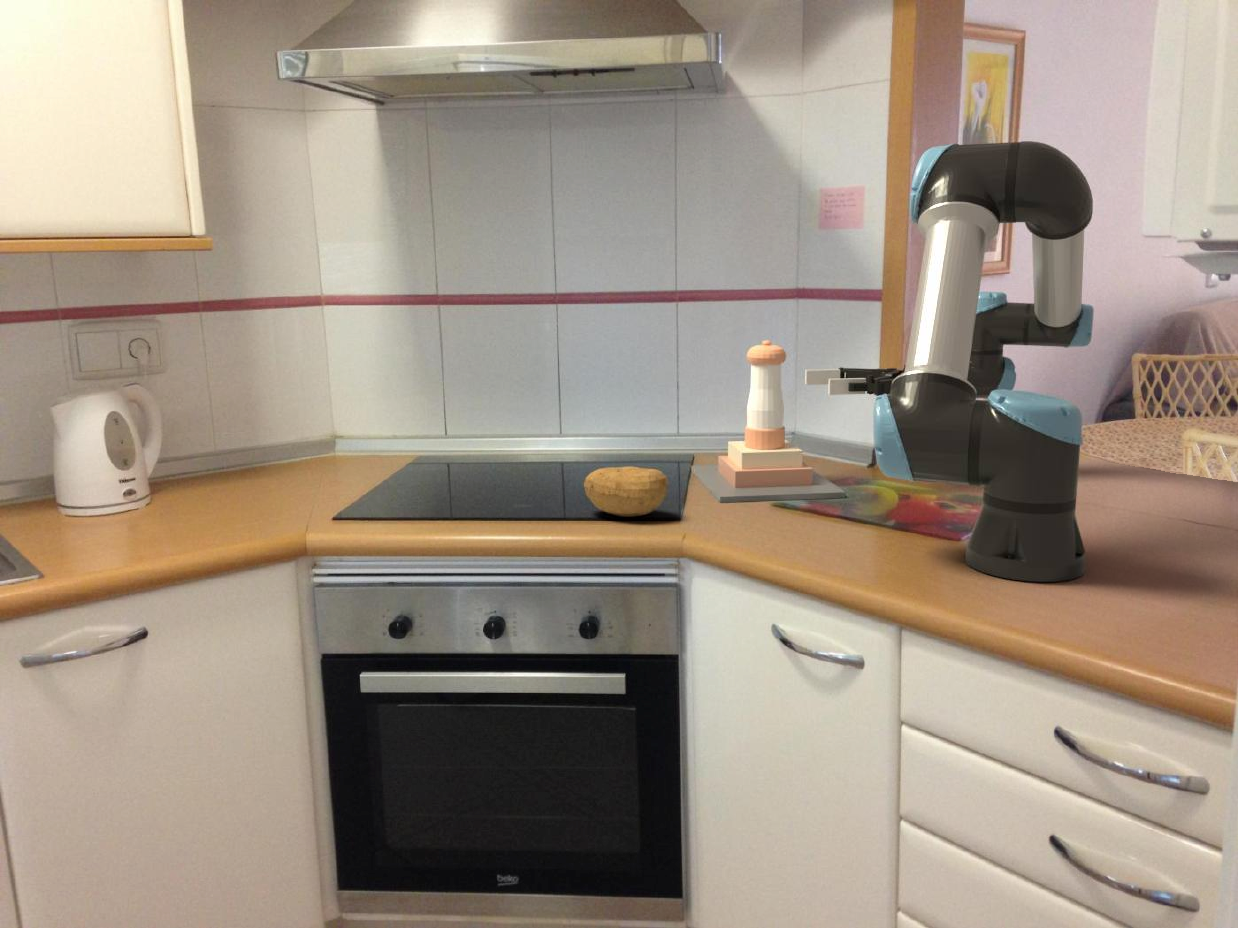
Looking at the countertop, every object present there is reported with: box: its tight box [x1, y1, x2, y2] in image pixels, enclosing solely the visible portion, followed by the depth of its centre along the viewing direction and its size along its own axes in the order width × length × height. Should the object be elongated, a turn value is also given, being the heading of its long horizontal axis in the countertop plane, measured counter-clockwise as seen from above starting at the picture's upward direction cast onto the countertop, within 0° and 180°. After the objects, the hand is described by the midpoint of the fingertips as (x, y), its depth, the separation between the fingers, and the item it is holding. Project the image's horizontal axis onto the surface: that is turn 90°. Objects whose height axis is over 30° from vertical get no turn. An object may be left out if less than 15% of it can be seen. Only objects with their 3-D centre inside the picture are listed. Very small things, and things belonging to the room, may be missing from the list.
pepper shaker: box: [744, 339, 787, 449], centre depth 188 cm, size 7×7×19 cm
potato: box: [583, 465, 669, 518], centre depth 168 cm, size 10×14×8 cm
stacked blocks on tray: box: [691, 439, 846, 504], centre depth 190 cm, size 26×22×7 cm
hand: (816, 382), depth 188 cm, fingers open, 13 cm apart
